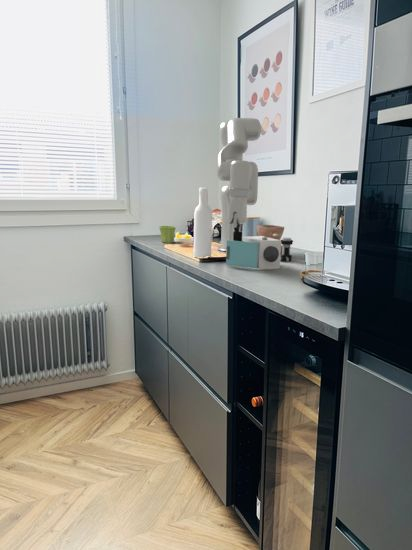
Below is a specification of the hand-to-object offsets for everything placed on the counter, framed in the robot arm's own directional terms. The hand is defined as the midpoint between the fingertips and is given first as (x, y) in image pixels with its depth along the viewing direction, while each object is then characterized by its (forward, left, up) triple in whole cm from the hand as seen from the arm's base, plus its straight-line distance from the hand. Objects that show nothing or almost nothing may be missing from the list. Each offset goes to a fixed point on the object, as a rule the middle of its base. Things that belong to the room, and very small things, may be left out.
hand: (237, 241), depth 161 cm
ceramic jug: (-15, +25, -10) cm, 31 cm away
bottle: (-24, -4, -10) cm, 26 cm away
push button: (-3, +25, -10) cm, 27 cm away
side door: (+4, 0, -9) cm, 10 cm away
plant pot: (-72, -2, -10) cm, 73 cm away
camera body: (+2, +9, -10) cm, 14 cm away
